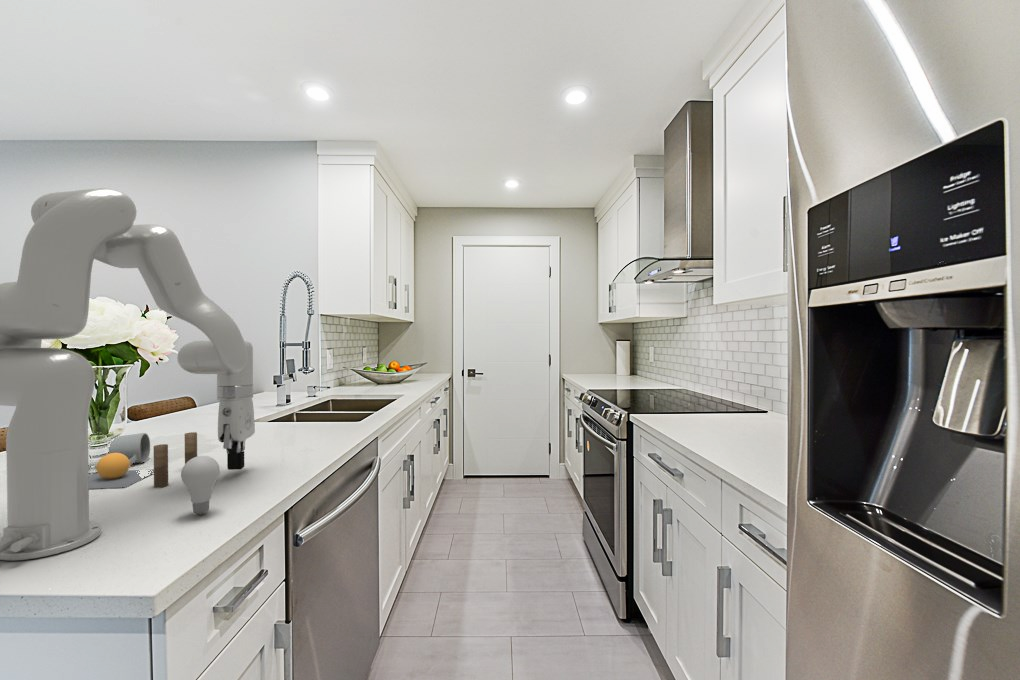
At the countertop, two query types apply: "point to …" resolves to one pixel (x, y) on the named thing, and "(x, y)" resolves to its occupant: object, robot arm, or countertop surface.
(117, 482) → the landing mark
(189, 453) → the gate post right
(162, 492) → the countertop surface
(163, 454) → the gate post left
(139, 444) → the ceramic mug
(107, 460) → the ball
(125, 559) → the countertop surface
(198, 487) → the lightbulb
